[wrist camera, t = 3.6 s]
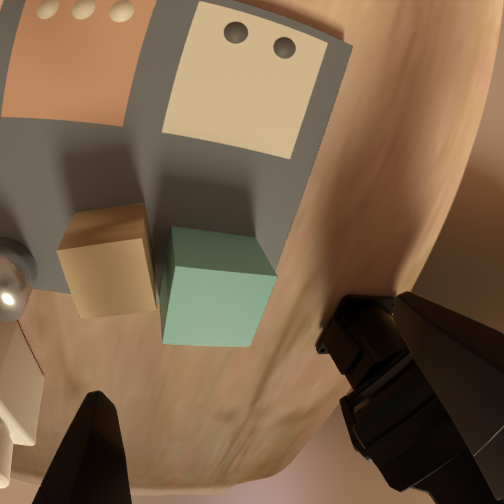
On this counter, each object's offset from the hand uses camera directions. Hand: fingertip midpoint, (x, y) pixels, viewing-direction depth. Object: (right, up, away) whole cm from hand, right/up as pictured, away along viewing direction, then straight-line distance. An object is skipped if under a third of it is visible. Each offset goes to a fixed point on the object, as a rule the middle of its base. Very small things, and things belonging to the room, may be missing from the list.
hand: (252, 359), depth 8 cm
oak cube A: (-8, +4, +8) cm, 12 cm away
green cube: (-3, +2, +11) cm, 12 cm away
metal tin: (-15, +2, +7) cm, 17 cm away
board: (-6, +8, +7) cm, 12 cm away
